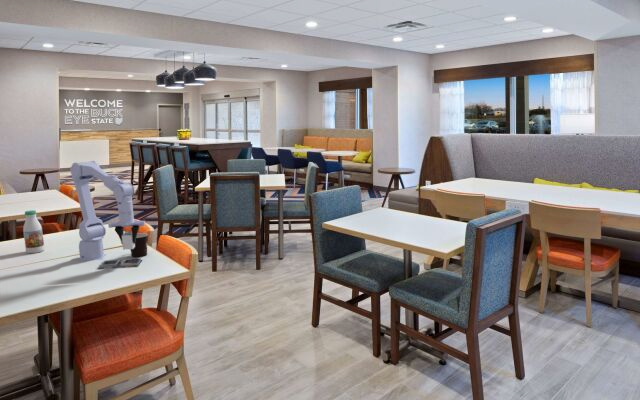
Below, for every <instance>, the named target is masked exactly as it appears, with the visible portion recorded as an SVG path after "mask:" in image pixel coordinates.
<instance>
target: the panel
mask: <svg viewBox="0 0 640 400" xmlns="http://www.w3.org/2000/svg"><path fill="white" fill-rule="evenodd" d="M141 258H142V257H139V258H128V259H124V260H121V259H112V260H111V259H110V260H104V261H102V262H101V263H100V264H99V267H98V269H97V270H98V271H99V270H113V269H114V270H115V269H128V268H129V269H130V268H138V267H139V266H140V265H141V263H142V262H143V259H141Z"/></svg>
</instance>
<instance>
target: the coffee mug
mask: <svg viewBox="0 0 640 400" xmlns="http://www.w3.org/2000/svg"><path fill="white" fill-rule="evenodd" d="M148 237H149V234H148V233H145V232H144V233H143V232H140V233H138V232H137V236H136V242H135V247H134V248H133V249H129V250H130V253H131V258H133V259H140V258H143V257H146V256H147V255H148Z"/></svg>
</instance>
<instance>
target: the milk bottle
mask: <svg viewBox="0 0 640 400" xmlns="http://www.w3.org/2000/svg"><path fill="white" fill-rule="evenodd" d="M24 215H25V221H24V224H23V229H22V231H23V239H24V240H23V241H24V246H25V247H24V248H25V252H26V254H38V253H41V252H44V251H45V242H44V241H45V240H44V235H43V234H44V233H43V227H42V224H41V223H40V221H39V220H38V218H37V211H36V210H34V209H33V210H26V211H25V212H24Z"/></svg>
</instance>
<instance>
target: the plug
mask: <svg viewBox="0 0 640 400" xmlns="http://www.w3.org/2000/svg"><path fill="white" fill-rule="evenodd" d="M121 245H122V250H123V251H125V250H130V249H133V248H134V247H135V243H133V236H132V231H124V234H123V235H122V243H121Z"/></svg>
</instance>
